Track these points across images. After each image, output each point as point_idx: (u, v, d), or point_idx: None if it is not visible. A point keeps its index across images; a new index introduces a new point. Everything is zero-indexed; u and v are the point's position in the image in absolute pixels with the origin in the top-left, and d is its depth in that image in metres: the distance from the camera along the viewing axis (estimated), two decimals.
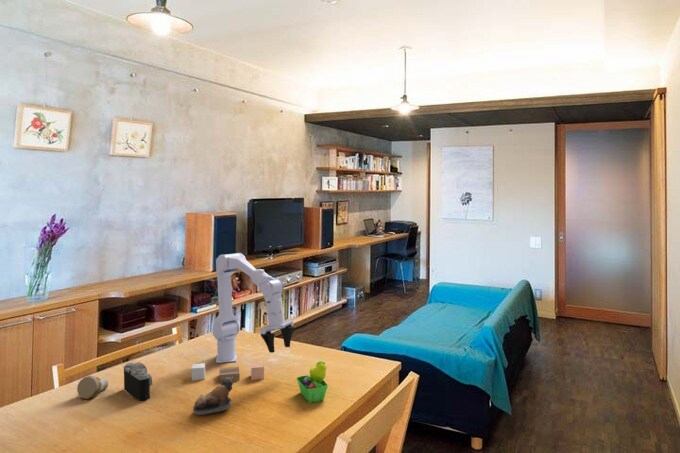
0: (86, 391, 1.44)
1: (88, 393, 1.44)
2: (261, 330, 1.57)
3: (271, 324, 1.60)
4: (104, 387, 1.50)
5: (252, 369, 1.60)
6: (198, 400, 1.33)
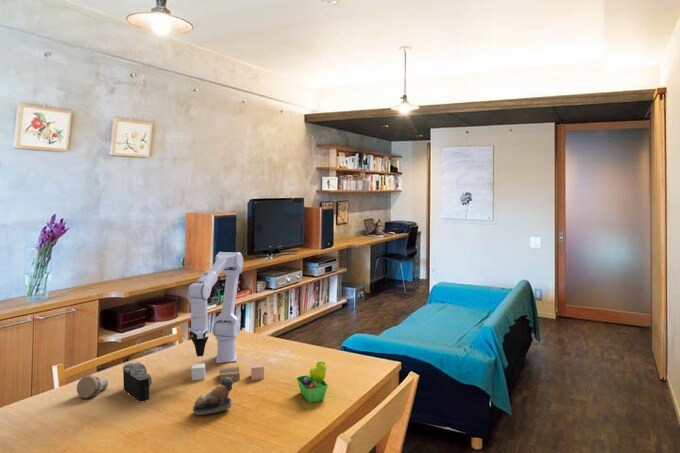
0: (85, 391, 1.44)
1: (87, 393, 1.44)
2: None
3: None
4: (104, 387, 1.50)
5: (252, 369, 1.60)
6: (198, 400, 1.33)
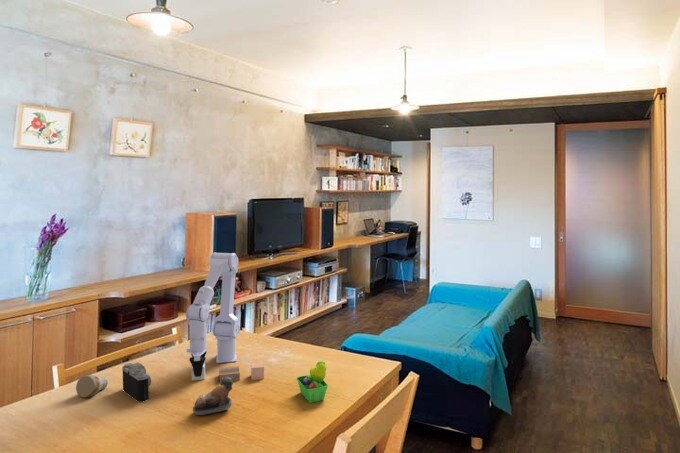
0: (84, 390, 1.45)
1: (86, 392, 1.45)
2: None
3: None
4: (103, 386, 1.51)
5: (252, 369, 1.60)
6: (198, 400, 1.33)
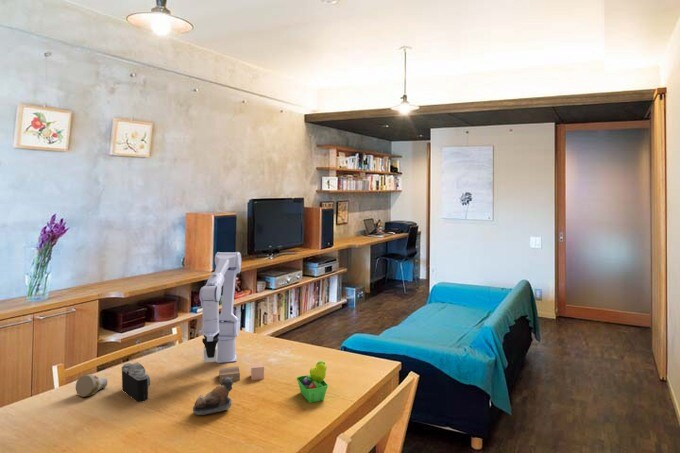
0: (83, 390, 1.45)
1: (85, 392, 1.45)
2: None
3: None
4: (103, 386, 1.51)
5: (252, 369, 1.60)
6: (198, 400, 1.33)
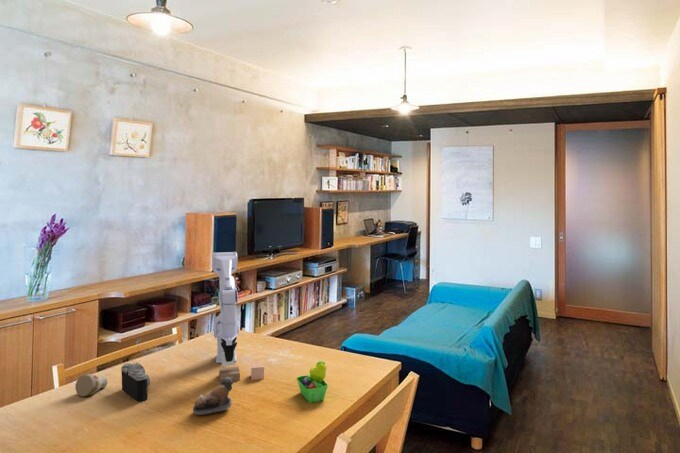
0: (83, 389, 1.46)
1: (85, 391, 1.45)
2: None
3: None
4: (102, 385, 1.51)
5: (252, 369, 1.60)
6: (198, 400, 1.33)
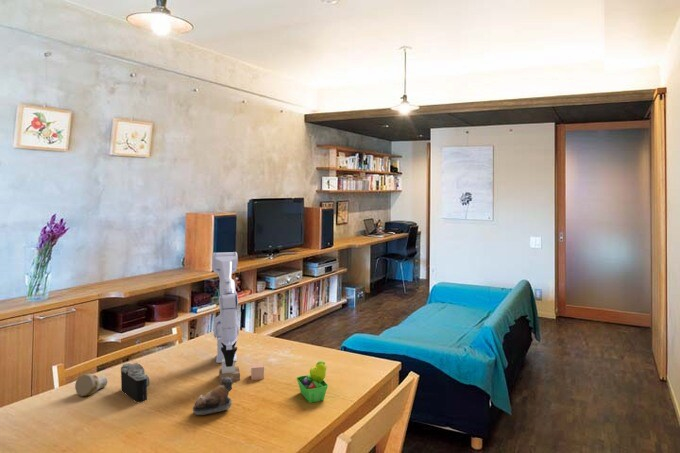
0: (83, 389, 1.46)
1: (84, 391, 1.46)
2: None
3: None
4: (102, 385, 1.52)
5: (252, 369, 1.60)
6: (198, 400, 1.33)
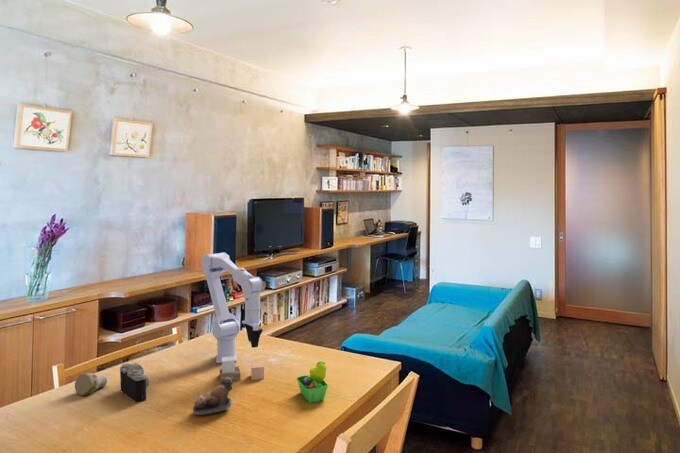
0: (82, 388, 1.47)
1: (83, 390, 1.46)
2: None
3: None
4: (102, 385, 1.52)
5: (252, 369, 1.60)
6: (198, 400, 1.33)
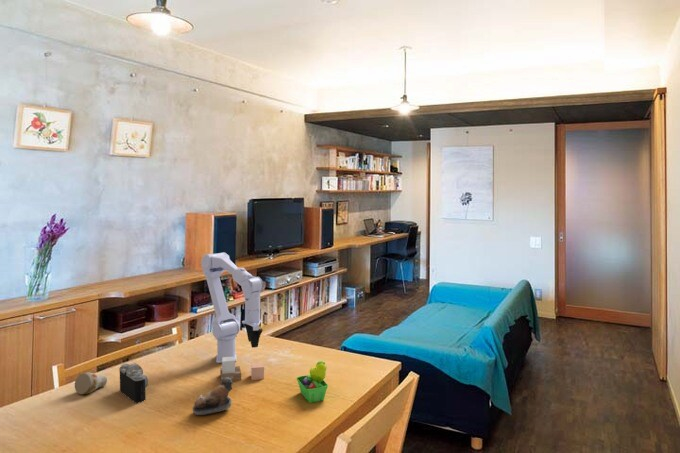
0: (81, 387, 1.47)
1: (83, 390, 1.47)
2: None
3: None
4: (102, 384, 1.53)
5: (252, 369, 1.60)
6: (198, 400, 1.33)
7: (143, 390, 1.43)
